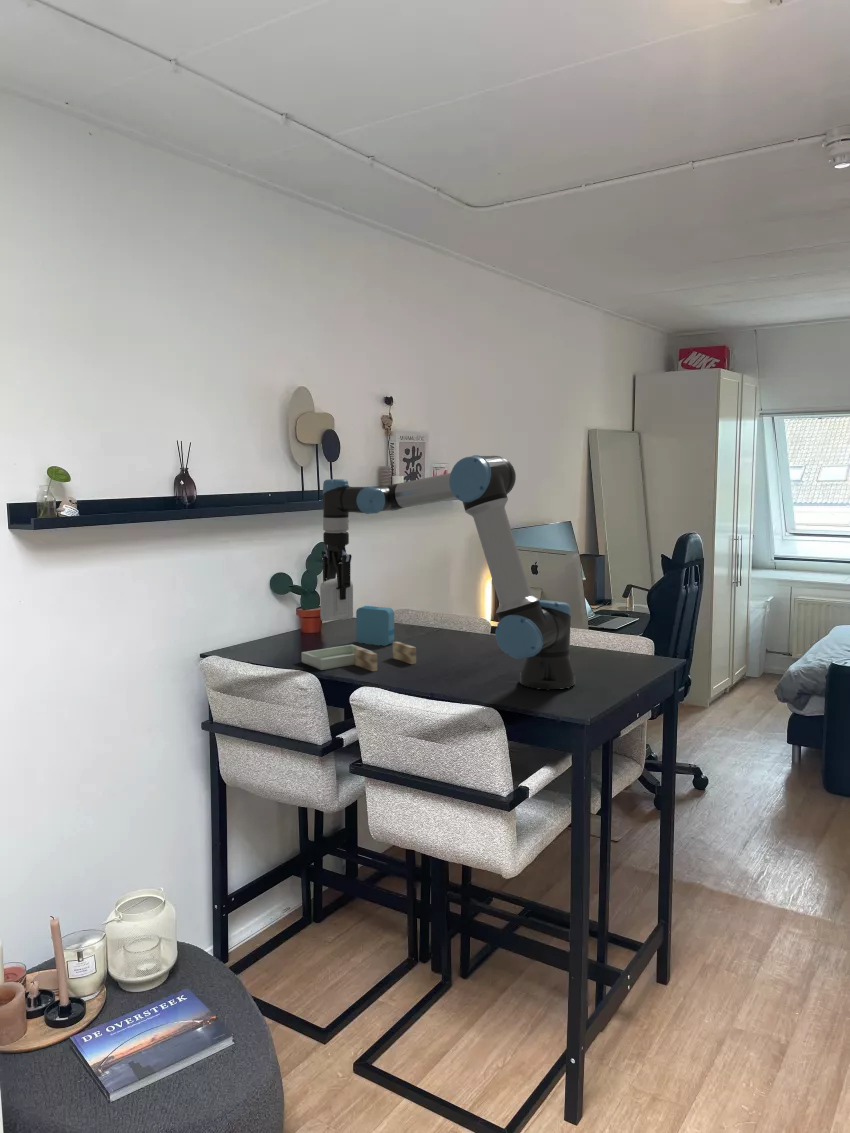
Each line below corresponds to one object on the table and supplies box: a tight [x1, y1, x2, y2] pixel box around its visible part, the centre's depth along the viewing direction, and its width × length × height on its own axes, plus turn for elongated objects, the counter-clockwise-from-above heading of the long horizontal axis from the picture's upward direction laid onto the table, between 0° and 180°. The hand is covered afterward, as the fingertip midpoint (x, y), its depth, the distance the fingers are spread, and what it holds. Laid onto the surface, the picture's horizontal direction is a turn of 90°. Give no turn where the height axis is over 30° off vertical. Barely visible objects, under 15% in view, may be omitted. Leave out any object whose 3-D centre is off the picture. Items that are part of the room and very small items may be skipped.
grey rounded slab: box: [319, 577, 354, 622], centre depth 255 cm, size 10×4×12 cm, turn 124°
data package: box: [355, 605, 395, 647], centre depth 281 cm, size 12×4×12 cm, turn 66°
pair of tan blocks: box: [353, 640, 417, 672], centre depth 254 cm, size 10×16×5 cm, turn 127°
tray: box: [301, 643, 374, 671], centre depth 257 cm, size 12×18×3 cm, turn 127°
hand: (336, 608), depth 255 cm, fingers closed on grey rounded slab, 4 cm apart
